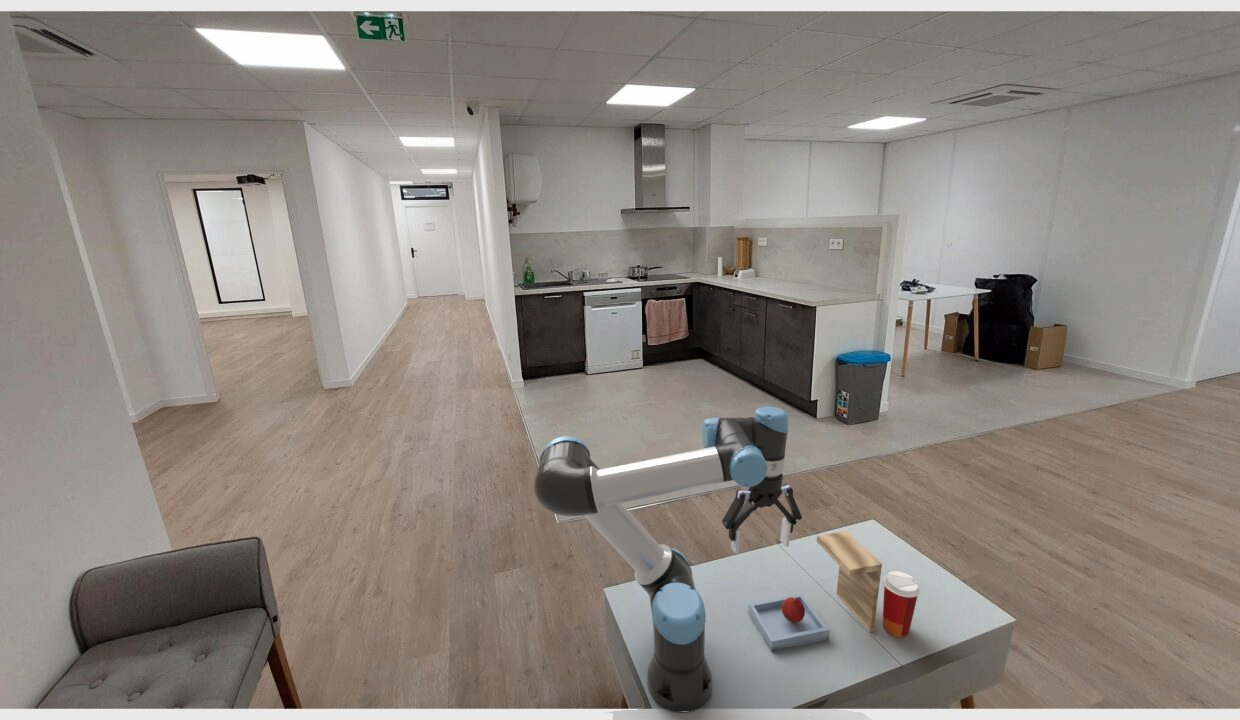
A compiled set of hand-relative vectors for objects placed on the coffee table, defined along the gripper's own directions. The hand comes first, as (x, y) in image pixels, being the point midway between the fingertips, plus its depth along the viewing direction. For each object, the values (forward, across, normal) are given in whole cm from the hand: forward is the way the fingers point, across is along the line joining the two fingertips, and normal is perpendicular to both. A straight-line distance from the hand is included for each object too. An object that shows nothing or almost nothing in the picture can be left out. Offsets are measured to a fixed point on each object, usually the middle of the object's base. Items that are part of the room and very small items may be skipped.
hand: (759, 547), depth 122 cm
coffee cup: (+25, +37, -8) cm, 45 cm away
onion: (+25, +11, 0) cm, 27 cm away
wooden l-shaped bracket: (+25, +26, -1) cm, 36 cm away
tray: (+26, +10, 0) cm, 27 cm away
